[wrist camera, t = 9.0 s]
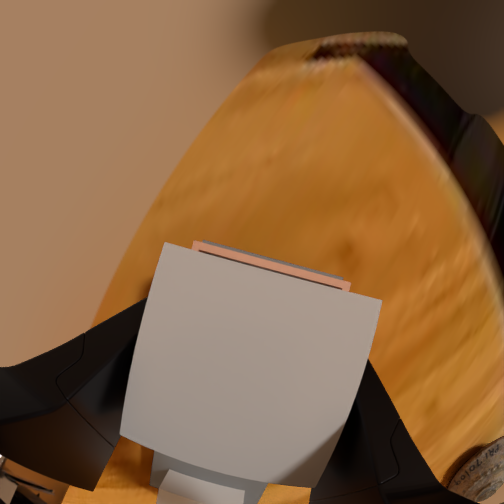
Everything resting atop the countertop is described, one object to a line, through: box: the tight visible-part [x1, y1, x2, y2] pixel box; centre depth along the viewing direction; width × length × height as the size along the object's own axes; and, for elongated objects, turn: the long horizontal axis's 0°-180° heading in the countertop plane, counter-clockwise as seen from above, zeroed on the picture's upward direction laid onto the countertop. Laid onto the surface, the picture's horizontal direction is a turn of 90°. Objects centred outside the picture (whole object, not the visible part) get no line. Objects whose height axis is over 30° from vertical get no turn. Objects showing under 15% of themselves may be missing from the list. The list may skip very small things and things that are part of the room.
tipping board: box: [149, 240, 351, 504], centre depth 14 cm, size 21×9×4 cm, turn 164°
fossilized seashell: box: [448, 436, 504, 502], centre depth 12 cm, size 11×11×7 cm
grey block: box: [120, 242, 382, 488], centre depth 10 cm, size 5×5×10 cm
